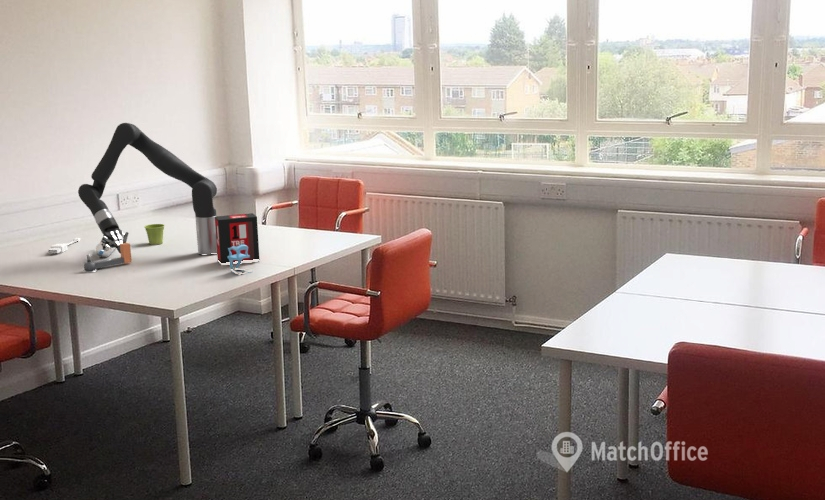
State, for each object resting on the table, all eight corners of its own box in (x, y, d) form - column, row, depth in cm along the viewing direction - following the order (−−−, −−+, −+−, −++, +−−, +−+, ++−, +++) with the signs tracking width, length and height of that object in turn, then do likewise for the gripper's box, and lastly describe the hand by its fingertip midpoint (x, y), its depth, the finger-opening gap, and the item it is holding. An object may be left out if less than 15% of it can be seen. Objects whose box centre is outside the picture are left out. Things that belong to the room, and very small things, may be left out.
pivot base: (99, 269, 381) (97, 253, 380) (95, 272, 375) (93, 256, 374) (85, 269, 381) (83, 253, 379) (80, 273, 375) (78, 256, 373)
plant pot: (163, 245, 424) (161, 227, 422) (143, 246, 424) (141, 228, 422) (168, 241, 433) (167, 223, 431) (149, 241, 433) (147, 224, 431)
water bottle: (121, 235, 421) (110, 247, 396) (118, 249, 422) (107, 261, 398) (106, 231, 419) (94, 243, 395) (103, 245, 421) (91, 258, 397)
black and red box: (221, 266, 383) (218, 220, 378) (217, 261, 391) (214, 216, 386) (259, 262, 388) (256, 216, 384) (255, 257, 396) (252, 213, 392)
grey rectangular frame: (98, 269, 381) (97, 267, 381) (89, 268, 383) (89, 267, 383) (107, 265, 387) (107, 264, 387) (99, 264, 388) (99, 263, 388)
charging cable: (84, 242, 440) (83, 235, 439) (58, 254, 408) (57, 247, 408) (74, 242, 440) (73, 235, 439) (47, 255, 408) (46, 247, 408)
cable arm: (87, 271, 375) (85, 252, 373) (82, 269, 378) (80, 250, 376) (132, 262, 388) (130, 243, 387) (127, 261, 392) (125, 242, 390)
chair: (240, 269, 377) (238, 241, 374) (253, 271, 372) (251, 243, 369) (225, 272, 371) (223, 244, 368) (238, 275, 366) (237, 247, 363)
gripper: (94, 219, 387) (112, 251, 383) (122, 214, 397) (140, 245, 392) (89, 229, 392) (107, 261, 387) (117, 224, 402) (134, 255, 397)
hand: (123, 253), depth 390 cm, fingers closed
